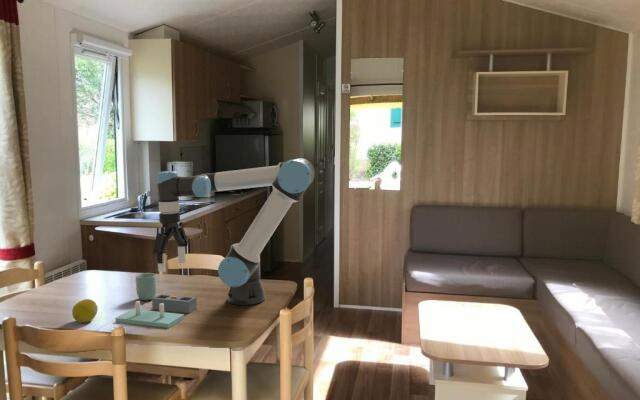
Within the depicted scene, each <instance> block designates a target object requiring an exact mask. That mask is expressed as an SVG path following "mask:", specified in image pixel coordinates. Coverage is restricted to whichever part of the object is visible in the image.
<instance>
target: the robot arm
mask: <svg viewBox="0 0 640 400" xmlns="http://www.w3.org/2000/svg"><path fill="white" fill-rule="evenodd" d="M156 175H157V180H156V181H157V183H156V185H157V187H156V188H157V196H158V200H157V201H158V211H159V214H158V217H159V218H158V219H159V223H160V224H161V225H162V226H161V227H157V228H156V236H155V241H154V246H153V250H152V254H153V255H154V256H155V255H156V259H157V272H158V273H159V272H160V273H166V271H167V270H166V254H164V253H165V250H166V247H167V245H168V242H169V240H170V239H171V238H172V237H173V238H174V240H175V242H176V243H177V245H178V246H177V259H178V261H177V262H178V264H185V263H186V247H188V244H189V240H188V237H187V234H186V232H185V228H184V223H183V222H182V221H181V213H180V212H179V211H180V197H182V198H183V197H194V198H201V197H208V196H209V195H210V193H216V192H224V191H232V190H233V191H235V190H242V189H251V188H253V189H254V188H260V187H261V188H263V187H270V186H272V191H271V193H270V195H269V196H268V198H267V199H266V201H265V202H264V204H263V205H262V207H261V209H260V210H259V212H258V213H257V215H256V216H255V218H254V219H253V221H252V223H251V224H250V226H249V227H248V229H247V231H246V232H245V234H244V236H243V237H242V238H241V240H240V241H239V242H237V243H233V244H231V245H230V250H229V252H228V253H227V255H226V256H225V258H223V259H222V260H221V261H220V262H219V265H218V267H217V269H218V270H217V274H218V277H219V279H220V281H221V282H222V283H223V284H224V285H226V286H228V287H229V289H228V292H227V302H228V303H229V304H232V305H236V306H250V305H251V306H253V305H257V304H259V303H262V302H264V301H265V300H266V293H265V290H264V287H263V284H262V281H261V253H262V251H263V250H264V248H265V247H266V245H267V243H268V242H269V241H270V239H271V237H272V236H273V234H274V232H275V231H276V230H277V228H278V226H279V225H280V223H281V222H282V220H283V218H284V217H285V215H286V214H287V212H288V211H289V210H290V209H291V206H292V204H293V203H297V202H299V201H300V200H301V198H302V197H303V195H304V194H305V192H306V191H307V189H308V188H309V186H310V185H311V184H312V183H313V182H314V180H315V177H316V170H315V167H314V165H313V164H312V163H311V161H309V160H308V159H307V158H301V157H299V158H293V159H289V160H286V161H283V162H279V163H278V164H277V165H271V166H261V167H253V168H243V169H237V170H226V171H220V172H219V171H218V172H206V173H201V174H198V175H193V176H179V174H178V171H176V170H175V171H172V170H169V171H168V170H166V171H160V172H158V173H157V174H156Z"/></svg>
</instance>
